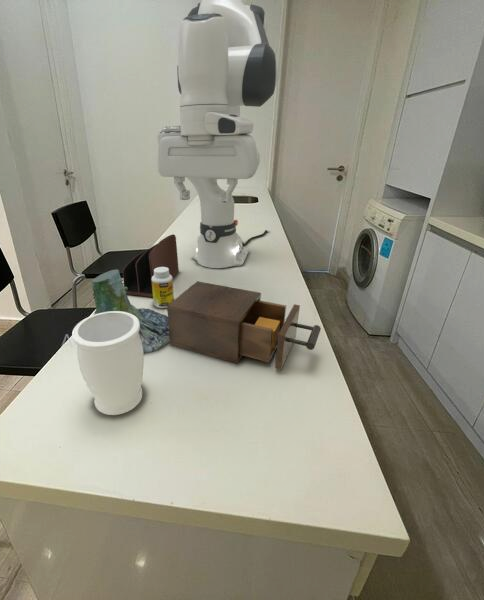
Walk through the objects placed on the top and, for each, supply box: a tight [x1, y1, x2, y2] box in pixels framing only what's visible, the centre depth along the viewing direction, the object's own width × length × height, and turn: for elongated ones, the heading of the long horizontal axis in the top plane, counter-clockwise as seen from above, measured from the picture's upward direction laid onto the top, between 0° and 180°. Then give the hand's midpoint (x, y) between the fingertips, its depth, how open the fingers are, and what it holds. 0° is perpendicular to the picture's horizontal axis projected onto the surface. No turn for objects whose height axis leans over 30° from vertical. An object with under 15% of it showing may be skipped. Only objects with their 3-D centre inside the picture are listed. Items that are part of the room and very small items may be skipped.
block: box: [255, 317, 280, 350], centre depth 68 cm, size 4×4×4 cm
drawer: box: [239, 300, 322, 371], centre depth 68 cm, size 20×13×8 cm, turn 62°
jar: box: [71, 311, 145, 416], centre depth 55 cm, size 11×10×15 cm
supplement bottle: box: [151, 267, 175, 309], centre depth 88 cm, size 6×6×10 cm
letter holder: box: [122, 233, 180, 298], centre depth 100 cm, size 10×20×14 cm, turn 162°
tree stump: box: [91, 268, 170, 354], centre depth 75 cm, size 18×20×18 cm
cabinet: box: [166, 280, 262, 364], centre depth 73 cm, size 16×14×10 cm
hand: (205, 200), depth 68 cm, fingers open, 8 cm apart
